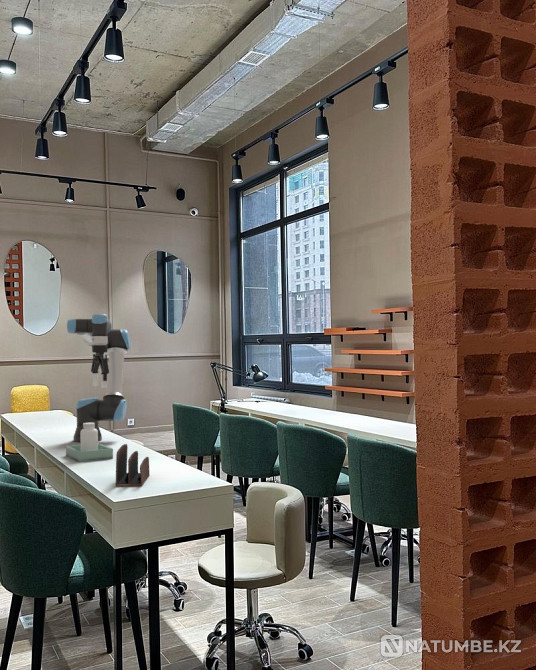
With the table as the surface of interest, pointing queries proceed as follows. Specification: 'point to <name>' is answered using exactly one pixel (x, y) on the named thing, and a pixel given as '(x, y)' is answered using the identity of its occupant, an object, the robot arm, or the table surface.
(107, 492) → the table surface
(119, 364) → the robot arm
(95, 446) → the pill bottle
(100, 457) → the box
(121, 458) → the letter holder
